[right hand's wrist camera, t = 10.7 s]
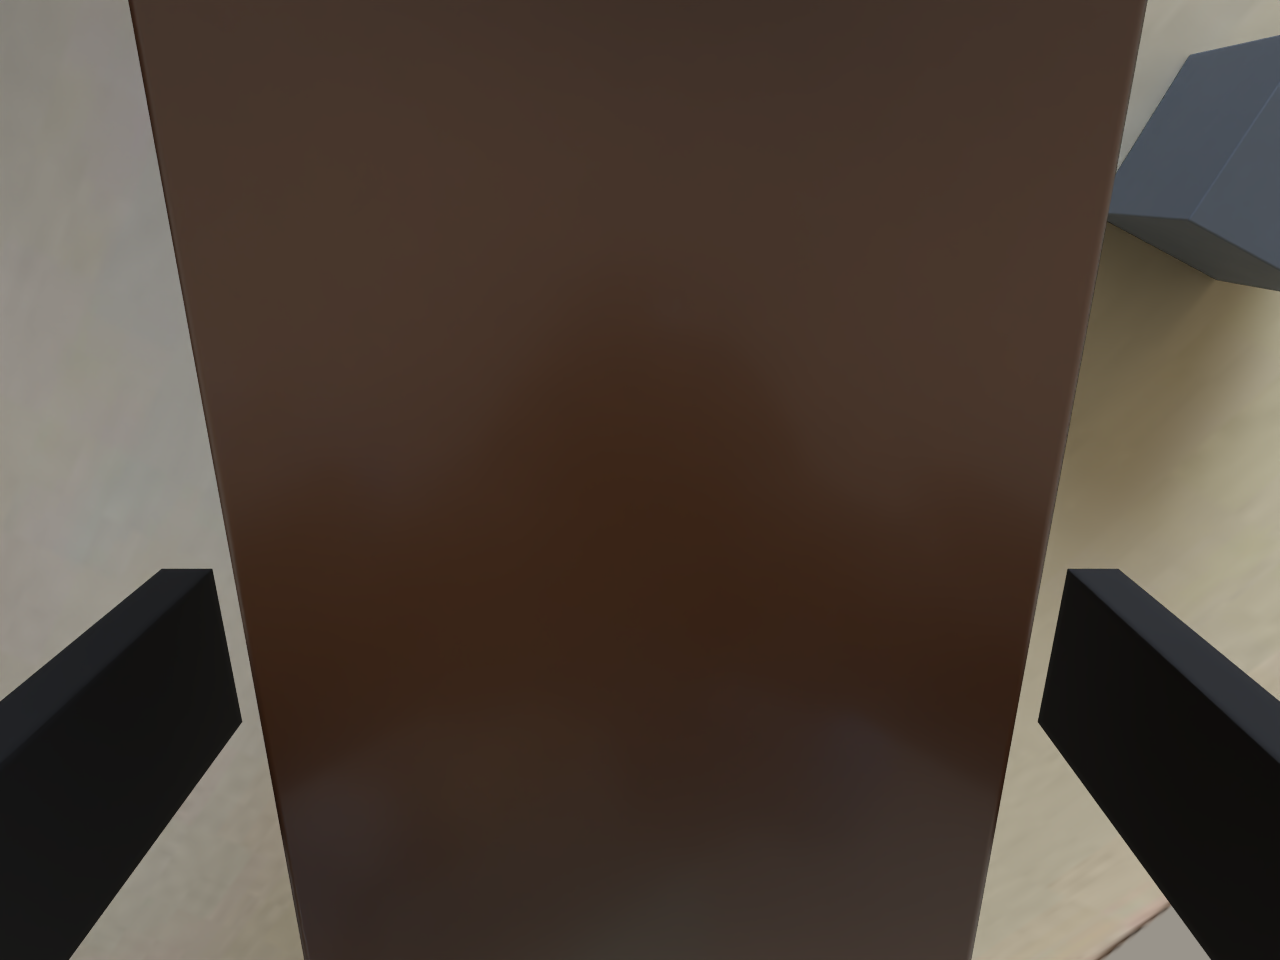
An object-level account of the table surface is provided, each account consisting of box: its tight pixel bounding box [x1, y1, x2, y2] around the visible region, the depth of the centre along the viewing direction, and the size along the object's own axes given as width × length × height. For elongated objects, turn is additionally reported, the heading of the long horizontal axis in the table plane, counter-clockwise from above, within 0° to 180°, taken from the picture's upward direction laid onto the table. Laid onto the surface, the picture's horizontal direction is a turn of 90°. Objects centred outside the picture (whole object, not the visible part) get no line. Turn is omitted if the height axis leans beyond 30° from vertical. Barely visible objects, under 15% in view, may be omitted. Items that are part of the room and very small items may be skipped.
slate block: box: [1107, 35, 1280, 291], centre depth 24 cm, size 5×5×5 cm
